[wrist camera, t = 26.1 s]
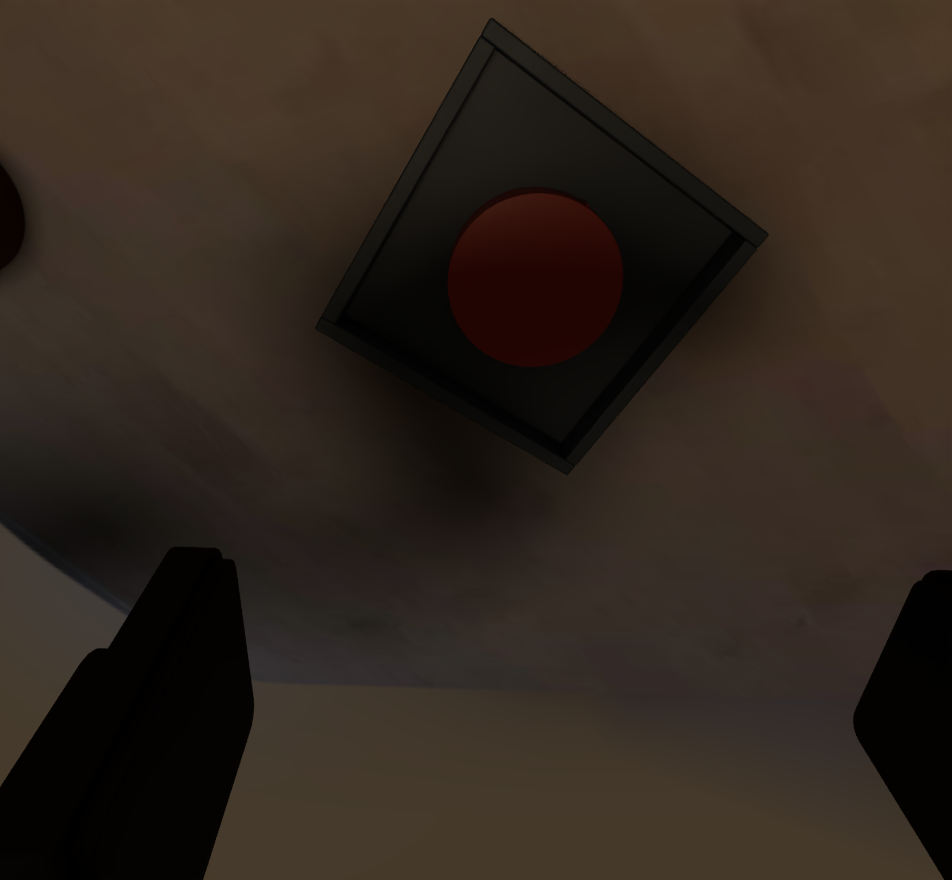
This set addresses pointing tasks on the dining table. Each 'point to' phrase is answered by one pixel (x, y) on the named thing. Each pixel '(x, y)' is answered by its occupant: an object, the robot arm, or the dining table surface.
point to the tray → (535, 165)
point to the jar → (9, 220)
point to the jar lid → (534, 277)
